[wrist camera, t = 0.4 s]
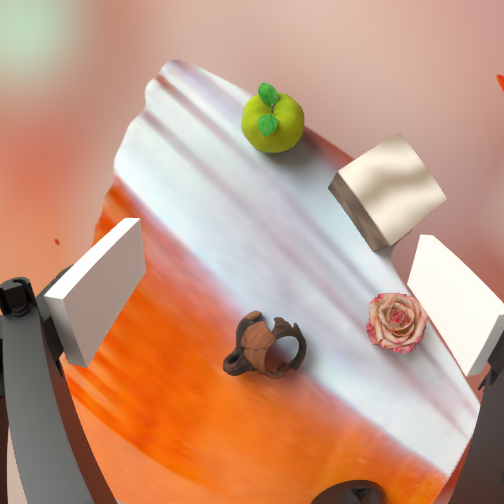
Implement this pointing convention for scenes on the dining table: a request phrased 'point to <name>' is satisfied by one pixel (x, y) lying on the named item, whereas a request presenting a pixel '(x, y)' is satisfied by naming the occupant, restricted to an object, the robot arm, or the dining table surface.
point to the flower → (396, 322)
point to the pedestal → (386, 192)
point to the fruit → (272, 120)
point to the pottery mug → (261, 346)
